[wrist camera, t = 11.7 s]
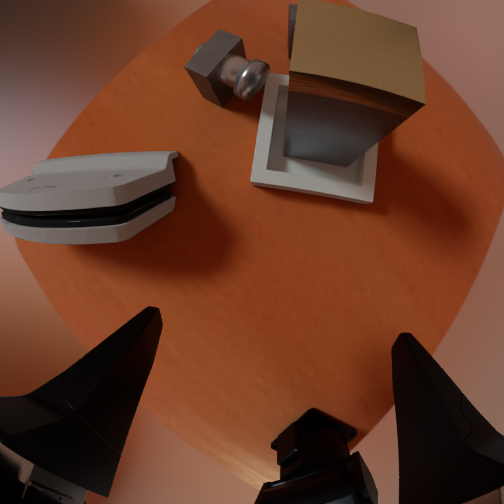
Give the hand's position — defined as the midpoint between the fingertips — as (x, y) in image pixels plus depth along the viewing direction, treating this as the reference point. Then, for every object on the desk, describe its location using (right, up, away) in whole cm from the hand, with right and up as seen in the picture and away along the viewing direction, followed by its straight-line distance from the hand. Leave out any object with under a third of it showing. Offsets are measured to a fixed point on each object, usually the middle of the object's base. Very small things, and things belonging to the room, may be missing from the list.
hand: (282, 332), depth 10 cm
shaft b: (-2, +16, +11) cm, 20 cm away
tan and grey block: (+4, +12, +11) cm, 16 cm away
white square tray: (+4, +12, +11) cm, 17 cm away
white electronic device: (-15, +8, +14) cm, 22 cm away
